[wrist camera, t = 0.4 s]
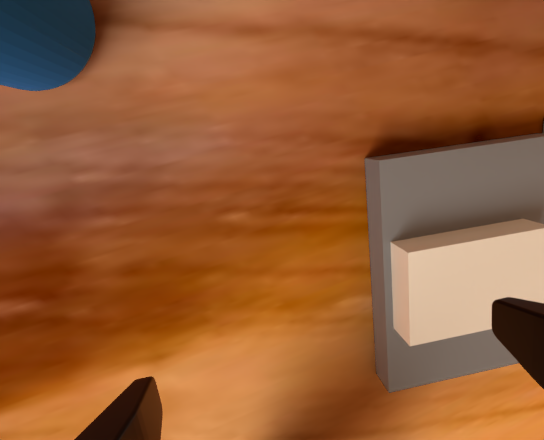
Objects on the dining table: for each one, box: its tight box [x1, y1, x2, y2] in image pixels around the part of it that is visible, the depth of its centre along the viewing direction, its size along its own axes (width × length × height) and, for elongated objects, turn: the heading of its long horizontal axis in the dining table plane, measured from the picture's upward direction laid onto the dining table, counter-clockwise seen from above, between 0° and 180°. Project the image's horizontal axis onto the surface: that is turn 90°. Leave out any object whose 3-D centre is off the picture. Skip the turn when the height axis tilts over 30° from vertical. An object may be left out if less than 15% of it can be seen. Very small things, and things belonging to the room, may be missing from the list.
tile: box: [390, 219, 544, 346], centre depth 21 cm, size 9×6×2 cm, turn 97°
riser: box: [365, 133, 544, 393], centre depth 23 cm, size 16×12×2 cm
